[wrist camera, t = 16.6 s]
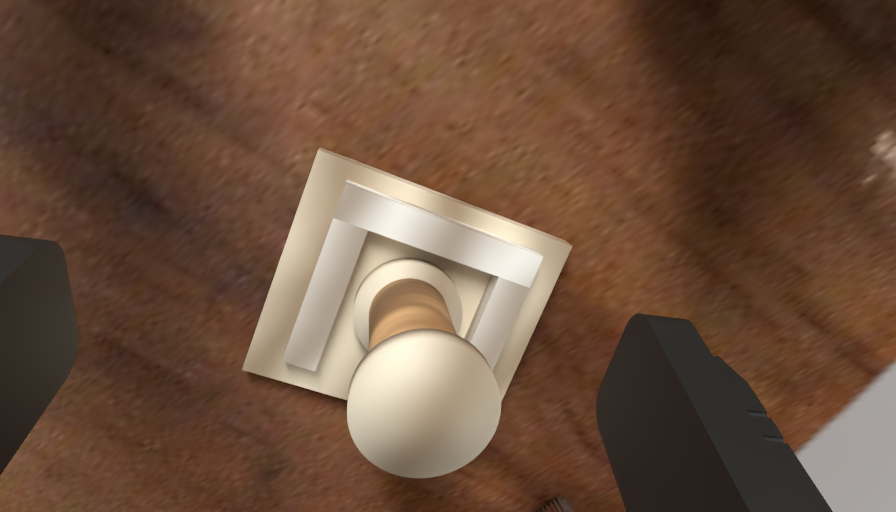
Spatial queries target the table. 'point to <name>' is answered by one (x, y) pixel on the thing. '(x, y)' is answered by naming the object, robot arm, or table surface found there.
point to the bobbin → (418, 374)
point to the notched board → (387, 238)
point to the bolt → (557, 506)
